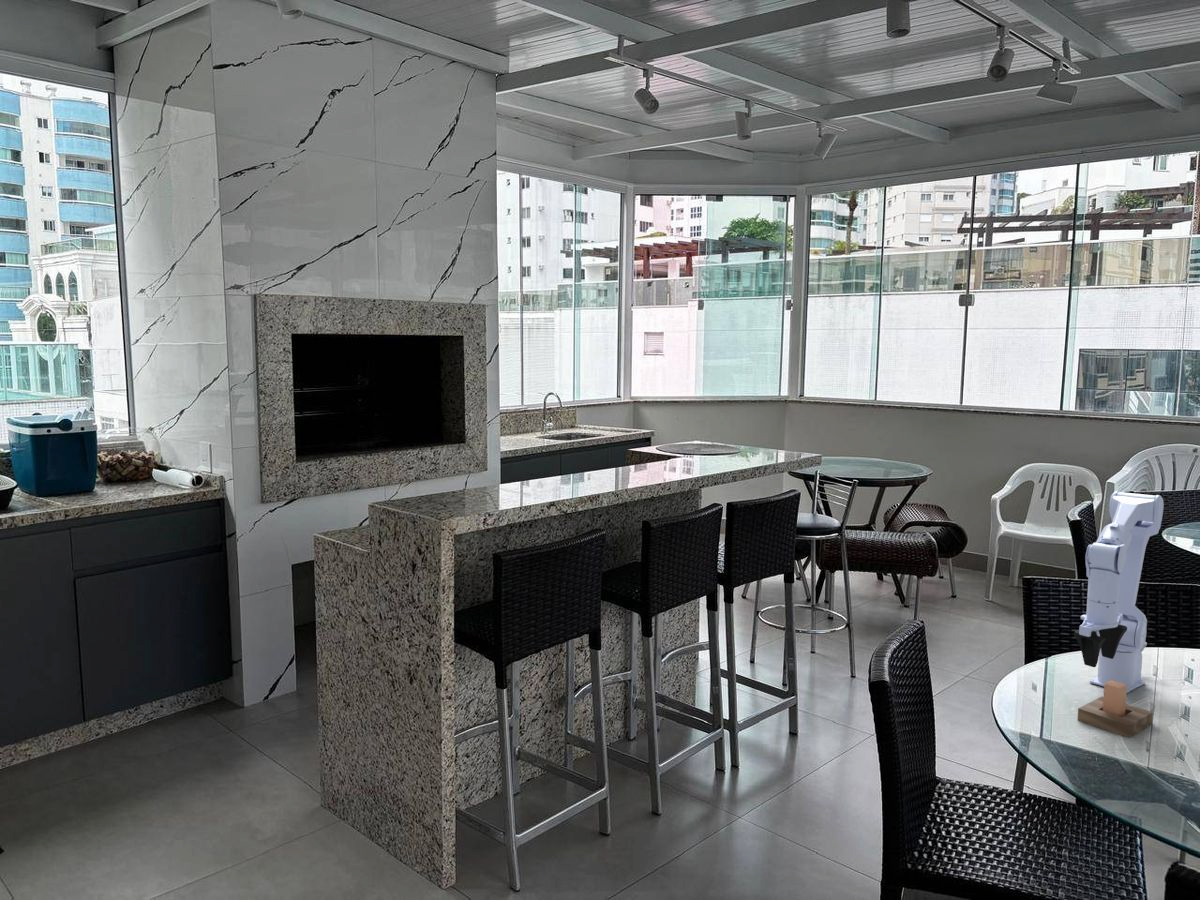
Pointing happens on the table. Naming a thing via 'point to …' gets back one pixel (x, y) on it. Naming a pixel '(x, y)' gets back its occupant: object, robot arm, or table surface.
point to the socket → (1115, 718)
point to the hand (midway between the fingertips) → (1099, 661)
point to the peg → (1115, 698)
